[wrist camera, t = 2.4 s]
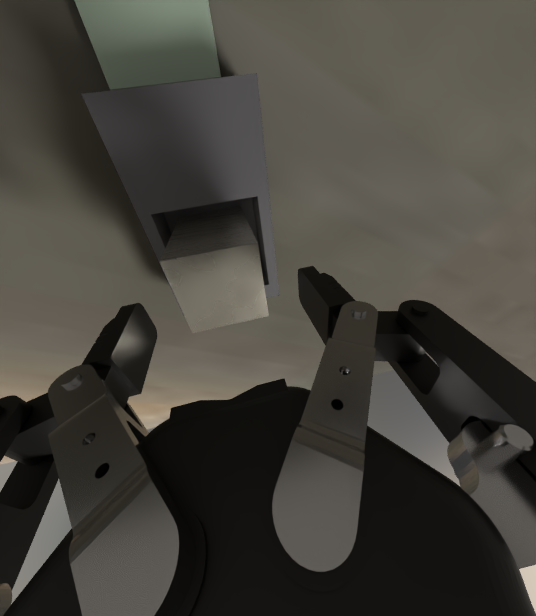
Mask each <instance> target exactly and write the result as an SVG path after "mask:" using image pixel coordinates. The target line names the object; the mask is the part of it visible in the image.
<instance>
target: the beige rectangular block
mask: <svg viewBox="0 0 536 616" xmlns="http://www.w3.org/2000/svg"><path fill="white" fill-rule="evenodd" d="M160 264H161V266H162V268H163V270H164V272H165V275H166V277H167V279H168V281H169V283H170V285H171V288H172V290H173V292H174V294H175V296H176V299H177V301H178V303H179V305H180V307H181V309H182V312H183V314H184V316H185V318H186V320H187V322H188V325H189V327H190V329H191V331H192V333H196V332H200V331H204V330H209V329H213V328H218V327H222V326H226V325H231V324H235V323H240V322H244V321H249V320H253V319H257V318H262V317H266V316H269V315H268V308H267V302H266V295H265V288H264V281H263V275H262V268H261V261H260V254H259V247H258V242H257V240H256V238H255V236H254V234H253V232H252V230H251V228H250V226H249V224H248V222H247V220H246V217H245V215H244V213H243V211H242V209H241V207H240V206H235V207H230V208H224V209H218V210H212V211H207V212H201V213H195V214H189V215H184V216H179V219H178V221H177V223H176V225H175V228H174V230H173V232H172V235H171V237H170V239H169V241H168V244H167V246H166V248H165V250H164V253H163V255H162V257H161V259H160Z"/></svg>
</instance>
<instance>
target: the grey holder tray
mask: <svg viewBox="0 0 536 616" xmlns="http://www.w3.org/2000/svg"><path fill="white" fill-rule="evenodd" d="M81 95H82V97H83V99H84V101H85V104H86V106H87V108H88V110H89V112H90V114H91V116H92V119H93V121H94V123H95V125H96V127H97V129H98V132H99V134H100V136H101V138H102V140H103V142H104V145H105V147H106V149H107V151H108V153H109V155H110V158H111V160H112V162H113V164H114V166H115V168H116V171H117V173H118V175H119V177H120V179H121V181H122V183H123V186H124V188H125V190H126V192H127V194H128V196H129V199H130V201H131V203H132V205H133V207H134V209H135V212H136V214H137V216H138V218H139V220H140V222H141V225H142V227H143V229H144V231H145V233H146V235H147V238H148V240H149V242H150V244H151V246H152V248H153V250H154V253H155V255H156V257H157V259H158V261H159V263H160V259H161V257H162V255H163V253H164V250H165V248H166V246H167V244H168V241H169V239H170V237H171V235H172V232H173V230H174V228H175V225H176V223H177V221H178V219H179V216H184V215H189V214H195V213H201V212H207V211H212V210H218V209H224V208H230V207H235V206H240V207H241V209H242V211H243V213H244V215H245V217H246V220H247V222H248V224H249V226H250V228H251V230H252V232H253V234H254V236H255V238H256V240H257V242H258V247H259V254H260V261H261V268H262V275H263V281H264V288H265V295H266V298H269V297H274V296H279V287H278V277H277V267H276V257H275V247H274V237H273V227H272V217H271V207H270V197H269V187H268V177H267V167H266V157H265V147H264V137H263V127H262V117H261V107H260V97H259V87H258V77H257V73H255V74H246V75H237V76H229V77H220V78H212V79H203V80H195V81H186V82H177V83H169V84H160V85H152V86H143V87H134V88H126V89H117V90H109V91H100V92H92V93H83V94H81ZM160 266H161V264H160ZM161 268H162V266H161ZM162 270H163V268H162ZM163 272H164V270H163ZM164 274H165V272H164ZM165 276H166V275H165ZM166 279H167V277H166ZM167 281H168V279H167ZM168 283H169V281H168ZM169 285H170V283H169ZM170 287H171V285H170ZM171 289H172V288H171ZM172 292H173V290H172ZM173 294H174V292H173ZM174 296H175V294H174ZM175 298H176V296H175ZM176 300H177V299H176ZM177 302H178V301H177ZM178 305H179V303H178ZM179 307H180V305H179ZM180 309H181V307H180ZM181 311H182V309H181ZM182 313H183V312H182ZM183 315H184V314H183Z"/></svg>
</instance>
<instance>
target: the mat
mask: <svg viewBox="0 0 536 616" xmlns="http://www.w3.org/2000/svg"><path fill="white" fill-rule="evenodd" d="M74 1H75V3H76V6H77V8H78V11H79V13H80V16H81V18H82V21H83V23H84V26H85V28H86V31H87V33H88V36H89V38H90V41H91V43H92V46H93V48H94V51H95V53H96V56H97V58H98V61H99V63H100V66H101V68H102V71H103V73H104V76H105V78H106V81H107V83H108V86H109V88H110V90H117V89H126V88H134V87H143V86H152V85H160V84H169V83H177V82H186V81H195V80H203V79H212V78H220V77H221V73H220V67H219V62H218V56H217V50H216V44H215V38H214V32H213V27H212V21H211V15H210V9H209V3H208V0H74Z"/></svg>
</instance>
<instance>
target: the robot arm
mask: <svg viewBox="0 0 536 616" xmlns="http://www.w3.org/2000/svg"><path fill="white" fill-rule="evenodd" d="M298 286H299V298H300V302H301V304H302V306H303V308H304V310H305V311H306V313H307V315H308V316H309V318H310V320H311V322H312V323H313V325H314V327H315V328H316V330H317V332H318V333H319V335H320V337H321V339H322V340H323V342H324V344H325V345H326V347H325V350H324V353H323V356H322V359H321V362H320V365H319V368H318V371H317V374H316V377H315V380H314V383H313V386H312V389H311V391H310V390H307V389H304V388H300V387H287V385H286V382H285V379H280V380H276V381H272V382H268V383H265V384H261V385H257V386H255V387H253V388H251V389H250V390H248V391H246V392H244V393H242V394H240V395H238V396H236V397H234V398H232V399H230V400H200V401H196V402H192V403H188V404H185V405H181V406H177V407H173V408H171V412H170V419H168V420H166V421H164V422H163V423H161V424H160V425H158V426H157V427H156V428H155V429H153V430H152V431H151V432H150V433H149V432H148V431H147V430H146V428H145V427H144V425H143V424H142V422H141V421H140V419H139V418H138V416H137V415H136V413H135V412H134V410H133V409H132V407H131V406H130V405H129V404H128V403H127V401H128V398H129V397H130V396H134V395H137V394H141V392H142V388H143V385H144V381H145V378H146V374H147V371H148V367H149V364H150V361H151V357H152V354H153V350H154V347H155V343H156V340H157V331H156V328H155V325H154V324H153V322H152V320H151V319H150V317H149V315H148V314H147V312H146V310H145V309H144V307H143V306H142V304H140V303H136V304H131V305H127V306H122V307H121V308H120V310H119V312H118V314H117V315H116V317H115V318H114V319H112V320H111V321H110V322H109V323H108V324H107V325H106V326H105V327H104V328H103V330H102V332H101V333H100V336H99V337H98V338H97V340H96V343H94V345H93V346H92V348H91V350H90V351H89V353H88V355H87V356H86V358H85V360H84V361H83V363H82V365H80V366H77V367H74V368H72V369H70V370H68V371H66V372H65V373H63V374H62V375H61V376H59V377H58V378H57V379H56V380H55V381H54V382H53V383H52V384H51V386H50V387H49V390H48V393H46V394H44V395H41V396H39V397H37V398H35V399H32V400H30V401H28V402H25V401H24V400H22V399H21V398H19V397H17V396H7V397H4V398H1V399H0V461H1V460H2V458H3V457H4V455H5V456H7V457H9V458H11V459H14V460H16V461H18V462H17V464H16V466H15V467H14V469H13V471H12V473H11V475H10V476H9V478H8V480H7V482H6V483H5V485H4V487H3V488H2V490H1V492H0V616H536V613H535V611H534V609H533V606H532V604H531V601H530V599H529V596H528V593H527V590H526V587H525V584H524V582H523V579H522V576H521V574H520V571H519V569H520V568H524V567H528V566H532V565H535V564H536V382H535V381H533V380H532V379H531V378H529V377H528V376H527V375H526V374H524V373H523V372H522V371H520V370H519V369H518V368H516V367H515V366H514V365H512V364H511V363H510V362H508V361H507V360H506V359H504V358H503V357H502V356H501V355H499V354H498V353H497V352H495V351H494V350H493V349H491V348H490V347H489V346H487V345H486V344H485V343H483V342H482V341H481V340H479V339H478V338H477V337H476V336H474V335H473V334H472V333H470V332H469V331H468V330H466V329H465V328H464V327H462V326H461V325H460V324H458V323H457V322H456V321H454V320H453V319H452V318H450V317H449V316H448V315H447V314H445V313H444V312H443V311H441V310H440V309H439V308H437V307H436V306H434V305H432V304H430V303H428V302H424V301H419V300H409V301H405V302H403V303H401V304H400V306H399V309H398V311H377V309H376V308H375V307H374V306H372V305H371V304H369V303H366V302H361V301H355V300H354V299H353V297H352V296H351V295H350V294H349V293H348V292H347V291H346V290H345V289H344V288H343V287H342V286H341V285H340V284H339V283H338V282H337V281H336V280H335V279H334V278H333V277H332V276H330V275H328V274H326V273H321V274H320V273H319V272H318V271H317V270H316V269H315V267H314V266H310V267H305V268H300V269H299V270H298ZM425 352H427V353H428V354H429V355H430V356H431V357H432V358H433V359H434V360H435V361H436V363H437V364H438V366H439V367H438V366H437V365H436V364H435V363H434V362H433V361H432V359H431V358H430V357H429V356H428V355H427V354H426V353H425ZM374 361H388V362H389V363H390V365H391V366H392V367H393V369H394V370H395V371H396V373H397V374H398V375H399V377H400V378H401V379H402V381H403V382H404V383H405V385H406V386H407V387H408V389H409V390H410V391H411V393H412V394H413V395H414V396H415V398H416V399H417V401H418V402H419V403H420V405H421V406H422V407H423V409H424V410H425V411H426V413H427V414H428V415H429V416H430V418H431V419H432V421H433V422H434V423H435V425H436V426H437V427H438V429H439V430H440V431H441V433H442V434H443V435H444V437H445V438H446V439H447V441H448V442H449V445H448V449H447V453H448V458H449V461H450V464H451V465H452V467H453V469H454V472H455V475H456V476H457V478H458V479H459V482H460V486H458V485H457V484H456V483H454V482H453V481H452V480H450V479H449V478H447V477H446V476H444V475H443V474H441V473H440V472H438V471H437V470H435V469H433V468H432V467H430V466H429V465H427V464H426V463H424V462H423V461H421V460H420V459H418V458H417V457H415V456H413V455H412V454H410V453H409V452H407V451H406V450H404V449H403V448H401V447H400V446H398V445H396V444H395V443H393V442H392V441H390V440H389V439H387V438H386V437H384V436H383V435H381V434H379V433H378V432H376V431H375V430H373V429H372V428H370V427H369V426H367V421H368V413H369V412H368V411H369V404H370V395H371V386H372V377H373V368H374ZM58 479H59V480H60V484H61V488H62V491H63V495H64V499H65V503H66V507H67V511H68V514H69V518H70V522H71V526H72V529H71V530H70V531H69V533H68V534H67V535H66V536H65V538H64V539H63V540H62V541H61V543H60V544H59V545H58V546H57V548H56V549H55V550H54V551H53V553H52V554H51V555H50V556H49V558H48V559H47V560H46V562H45V563H44V564H43V565H42V567H41V568H40V569H39V570H38V572H37V573H36V574H35V575H34V577H33V578H32V579H31V581H30V582H29V583H28V584H27V586H26V587H25V588H24V589H23V591H22V592H21V593H20V594H19V596H18V597H17V598H16V600H15V601H14V602H13V603H12V604H11V602H12V589H13V586H14V584H15V582H16V579H17V577H18V574H19V572H20V570H21V567H22V565H23V563H24V560H25V557H26V555H27V553H28V550H29V548H30V546H31V543H32V541H33V539H34V536H35V534H36V531H37V529H38V527H39V524H40V522H41V519H42V517H43V515H44V512H45V510H46V507H47V505H48V503H49V500H50V497H51V495H52V493H53V491H54V488H55V486H56V483H57V481H58Z"/></svg>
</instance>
